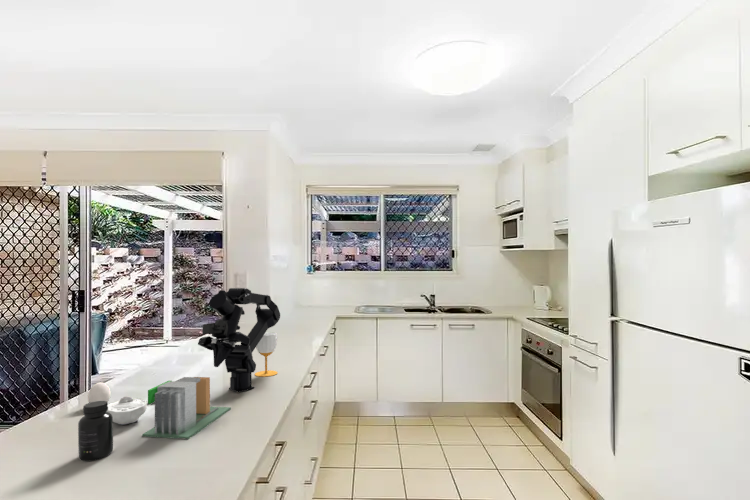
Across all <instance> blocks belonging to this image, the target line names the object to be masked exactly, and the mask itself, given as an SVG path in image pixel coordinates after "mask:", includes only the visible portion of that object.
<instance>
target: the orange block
mask: <svg viewBox="0 0 750 500" xmlns="http://www.w3.org/2000/svg"><path fill="white" fill-rule="evenodd" d="M197 377H198V378H200V382H198V383H196V413H197V414H207V413H208V412H210V406H211V378H210V377H207V376H202V377H201V376H197Z"/></svg>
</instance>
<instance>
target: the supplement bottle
mask: <svg viewBox="0 0 750 500" xmlns="http://www.w3.org/2000/svg"><path fill="white" fill-rule="evenodd" d="M108 403H109V401H108V402H107V401H95V402H91V403H89V402H88V403H86V404H84V405H83V410H82V414H83V416H82V417H80V418H79V421H78V422H77V423H78V425H77V428H78V429H77V430H78V432H77V433H78V435H77V436H78V437H77V438H78V442H77V443H78V444H77V445H78V450H77V451H78V453H77V454H78V459H79V460H80V461H82V462H94V461H97V460H101V459H104V458H106V457H108V456H109V455H111V454H112V452H113V449H114V422H113V416H112V414H111V413H109V412H107V410H108Z"/></svg>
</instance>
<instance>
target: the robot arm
mask: <svg viewBox="0 0 750 500" xmlns="http://www.w3.org/2000/svg"><path fill="white" fill-rule="evenodd" d="M249 304H251V305H252V304H255V305H256V308H255V311H254V312H255V314H256V323H255V324H254V326H253V327H252V328H251V330H250V331H249V332H248V334H247V335H246V334H245V333H242V332H240V329H241V326H240V325H239V324H240V321H241V320H240V319H241V316H244V315H245V311H244V309H243V306H240V305H249ZM209 306H210V307H211V308H212V309H213V310H214V311H215V312H216V313H217V314H219V316H222V317H221V319H216V320H215V321H214V322H210V323H204V324H202V335H204V336H202V337H200V338H199V340H198V342H197V345H198V346H200V347H203V348H205V349H207V350H209V351H212V352H213V353H212V354H213V367H215V368H219V367H220V365H221V364H222V363H223V362H224V364H225V368H226V372H227V373H230V377H229V388H228V390H230V391H233V392H235V393H241V392H245V391H250V390H253V389H255V386H253V385H252V373H255V371H256V368H257V367H256V366H257V363H256V362H255V361H254V357H253V352H254V350H255V349H256V346H257V344H258V343H259V341H260V340H261V338H262V337H263V335H264V334H265V332H268V330H269V329H270V328H273V327H274V326H276V325H277V323H278V322H279V321H280V319H281V313H280V310H279V307H278V306H279V305H277V304H276V303H275V302H274V301H273V300H272V297H271V296H270V295H269V294H261V293H255V292H252V290H250V289H249V288H245V287H235V288H234V287H230V288H228V291H226V290H218V292H217V293H216V294H214V295H213V296H212V297H211V298H210V300H209ZM261 306H266V307H267V308H261ZM238 330H239V331H238ZM205 335H209V336H205ZM210 335H211V336H210ZM237 343H240V344H237Z"/></svg>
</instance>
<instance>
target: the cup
mask: <svg viewBox="0 0 750 500" xmlns="http://www.w3.org/2000/svg"><path fill="white" fill-rule="evenodd" d="M277 334H278V333H277V332H271V331H266V332H265V334H264V335H263V337H262V338H261V340H260V341H259V343H258V344H257V346H256V347H255V349H256V351H257V353H258V354H260V356H263V357H264V370H260V371H257V372H254V376H255V377H258V378H268V377H274V376H276V375H278V371H276V370H271V369H270V370H268V357H269V356H271V355H272V354H273V352H275V349H276V347H277V342H278V336H277Z"/></svg>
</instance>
